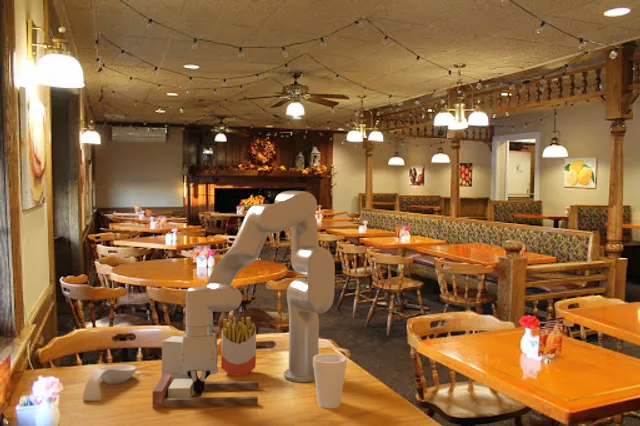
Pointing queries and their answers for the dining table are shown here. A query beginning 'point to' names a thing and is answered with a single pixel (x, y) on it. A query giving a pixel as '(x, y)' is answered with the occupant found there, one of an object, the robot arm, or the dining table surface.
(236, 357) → the french fries container
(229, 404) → the guide track
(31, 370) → the dining table surface
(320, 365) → the foam cup
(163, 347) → the supplement box
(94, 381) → the spoon rest
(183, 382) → the block
